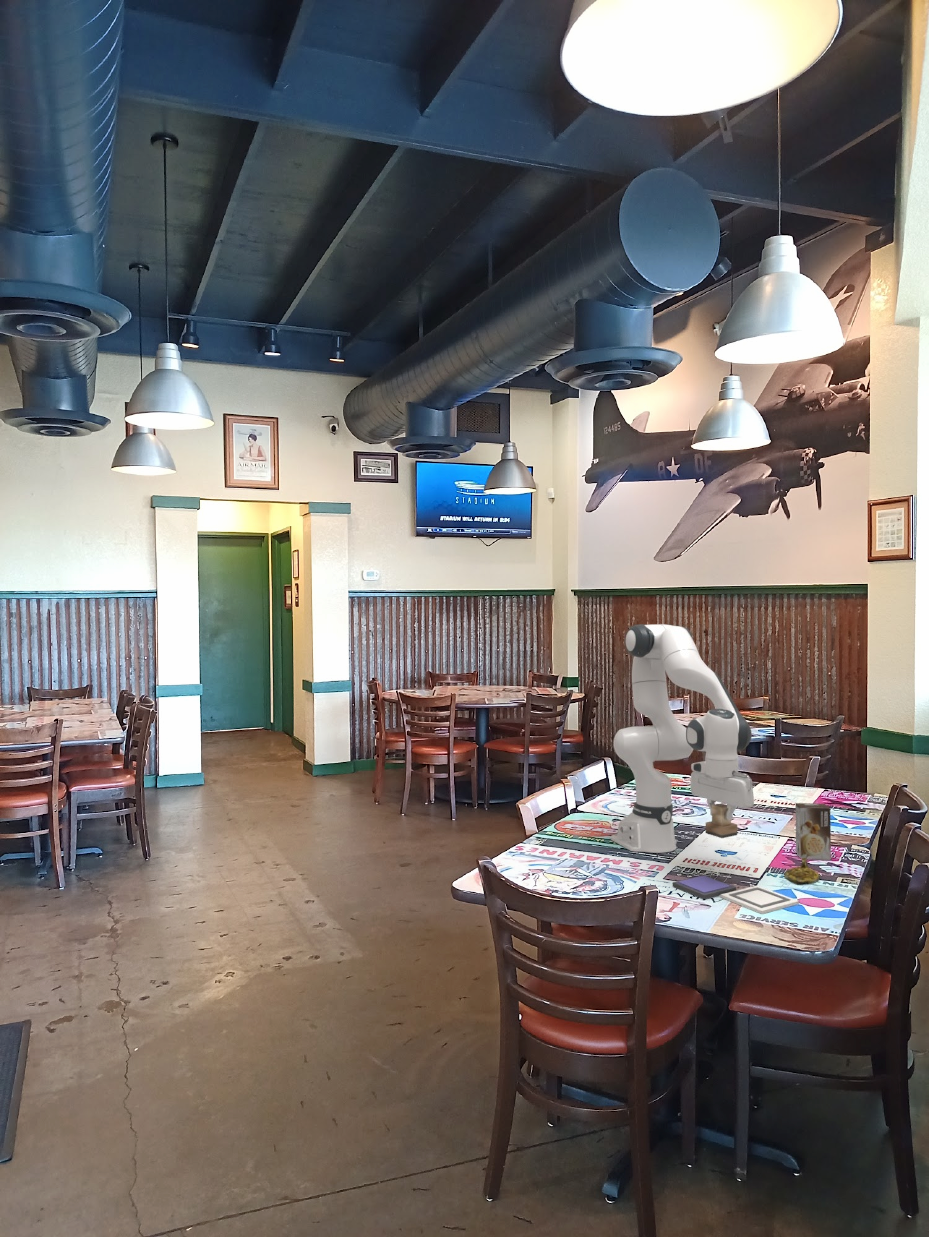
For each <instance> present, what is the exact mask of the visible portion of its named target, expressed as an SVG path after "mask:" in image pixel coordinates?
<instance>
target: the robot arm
mask: <svg viewBox="0 0 929 1237" xmlns="http://www.w3.org/2000/svg"><path fill="white" fill-rule="evenodd" d="M694 641H695V640H694V639H693V634H692V632H691V631H690V629H689V628H687V627H684V626H681V625H673V624H672V625H671V624H666V623H665V624H664V623H658V624H643V623H640V624H635V625H632V626H630V627H629V628H628V630H627V631H626V633H625V637H624V645H625V650H626V651H627V652H628V654H629V655H631V656H633V659H632V666H631V685H632V686H631V688H632V700H633V701H632V703H633V707H634V709H635V710H636V711H637V712H638V713H639V714H641V715H643V716H645V717H646V718H648V719H649V720H650V721H651V723H652V726H651V725H648V726H646V725H645V726H643V725H642V726H641V725H640V726H639V725H638V726H637V725H636V726H629V727H625V728H620V729H619V730H617V732H616V733H615V735H614V738H613V749H614V752H615V754H616V755H617V756H618V757H619V758H620V759H621V760H622V761H623V762H625V763H626V764H627V765H628V767H629V768H630V770H631V771H632V774H633V777H634V782H635V800H636V801H634V802H630V807H632V810H631V811H632V812H630V813H629V814H628V815H627V816H625V817H624V818H622V819H621V820H620V821H619V823H618V825H617V833H614V834H612V835H611V836H610V841H612V842H614V843H616V844H618V845H620V846H621V847H623V848H625V849H627V850H628V851H631V852H637V853H638V852H640V853H641V852H643V853H644V852H645V853H651V854H653V853H654V854H655V853H657V854H658V853H659V854H661V853H670V852H673V851H676V850H677V843H678V842H677V839H676V836H675V826H674V819H673V815H674V812H673V811H674V808H673V807H674V805H673V803H672V780H671V779H670V777H669V776H668V775H667V774H665V773H664V772H662V771H661V770H658V769H655V768H654V762H656V761H678V760H682V759H685V758H689V757H690V756H691V755H692V753H693V751H698V752H705V756H704V760H702V761H698V762H694V763H691V765H690V766H691V768H690V769H691V771H692V772H691V774H690V783H689V784H690V786H689V787H690V788H689V789H690V792H691V794H692V796H696V797H700V798H702V799H705V800H706V804H707V807H708V808H709V809H710V810H709V812H710V816H712V805H715V804H716V802H718V803H720V804H725V805H727V808H729V809H728V811H727V813H724V819H726V820H731V821H732V820H733V816H734V815H733V814H734V813H735V811H736V809H737V808H740V809H750V808H752V807H753V806H754V804H755V798H754V789H753V788H754V787H753V782H752V781H753V780H752V778H751V777H750V776H749V775H748V773H742V772H739V755H738V752H742V751H744V749H746V748H747V746H749V744H750V742H751V740H752V734H753V733H752V729H751V726H750V724H749V723H748V721H747V720H746V718H745V717H744V716H743V715H742V714H741V712H740V710H739V709H738V707H737V705H736V703H735V702H734V700H733V698H732V697H731V694H730V693H729V691H728V688H726V686H725V684H724V681H723V680H722V679H721V678H720V676H719V674H717V672H715V671H713V670H712V669H711V668H710V667H709V666H707V665H706V663H705V662H704V661H703V660H702V658H701V656H700V652H699V651H698V648H697V645H696V644H695V642H694ZM667 677H668V678H669V680H670V682H672V684H674V685H675V686H678V687H680V688H682V689H686V690H690V691H694V692H697V693H699V694H703V695H704V696H705V697H708V698H709V700H710V701H711V702H712V703H713V706H714V708H711V709H709V710H708V711H707V712H706V714H705V715H704V716H701V717H697V718H693V719H692V720H691V721H690V722H689V723H688V724H687V726H686V727H685V726H684V725H683V724H682V723H681V722H680V721H679V720H678V719H677V718H676V717H675V714H674V713H673V711H672V708H671V706H670V700H669V694H668V684H667Z"/></svg>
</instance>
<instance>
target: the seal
mask: <svg viewBox="0 0 929 1237" xmlns="http://www.w3.org/2000/svg"><path fill="white" fill-rule="evenodd" d="M820 877H821V876H820V873H818V872H817V871H815V870H814V869H812V868H810V867H809V864H808V859H806V858H802V859H801V865H800V866H797V867H792V868H788V869H787V870H786V871H785V872H784V879H785V880H787V881H789V882H790V883H792V884H795V885H813V884H816V882H817V883H818V882H819V881H820Z"/></svg>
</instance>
